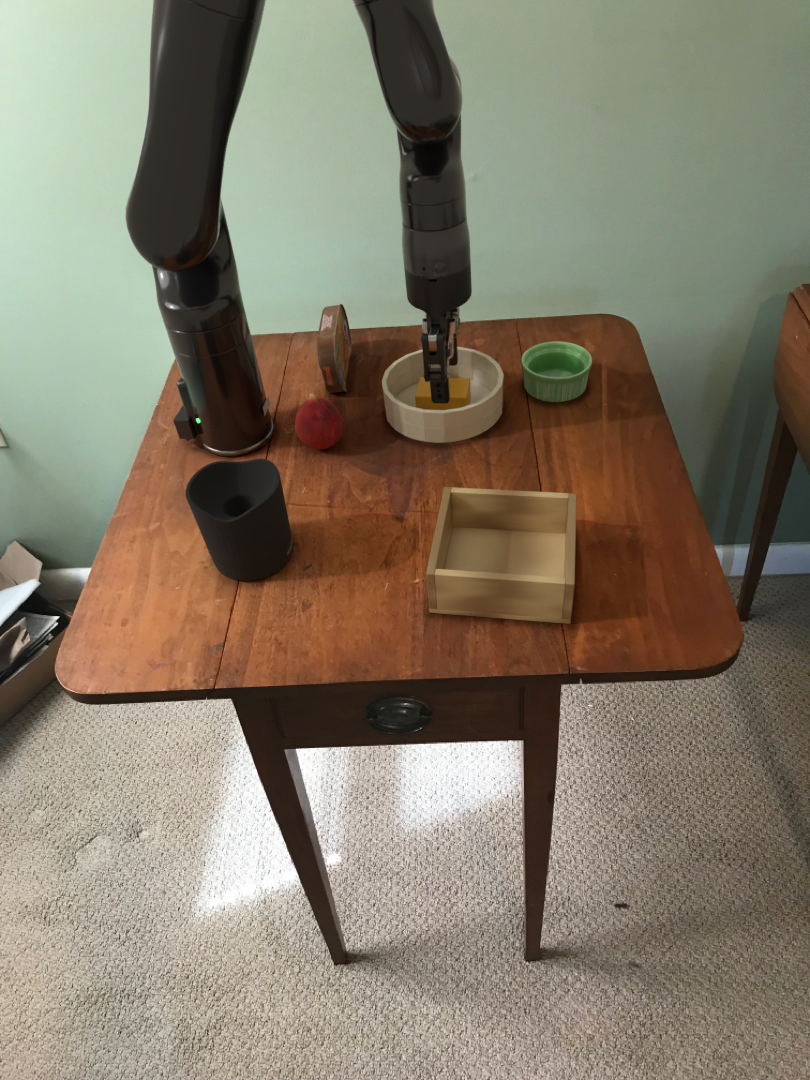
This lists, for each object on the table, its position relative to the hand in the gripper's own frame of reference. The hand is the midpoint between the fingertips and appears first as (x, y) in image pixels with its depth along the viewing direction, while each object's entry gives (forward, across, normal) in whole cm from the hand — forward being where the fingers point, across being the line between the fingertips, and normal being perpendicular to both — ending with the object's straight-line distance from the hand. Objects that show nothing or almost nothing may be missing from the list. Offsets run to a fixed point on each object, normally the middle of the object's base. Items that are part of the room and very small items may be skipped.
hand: (445, 382), depth 97 cm
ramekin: (+5, -6, +14) cm, 15 cm away
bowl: (+4, 0, 0) cm, 4 cm away
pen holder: (+4, +28, -18) cm, 33 cm away
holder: (+4, +28, +10) cm, 30 cm away
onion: (+4, +9, -14) cm, 18 cm away
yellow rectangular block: (+4, 0, 0) cm, 4 cm away
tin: (+4, -8, -16) cm, 19 cm away
